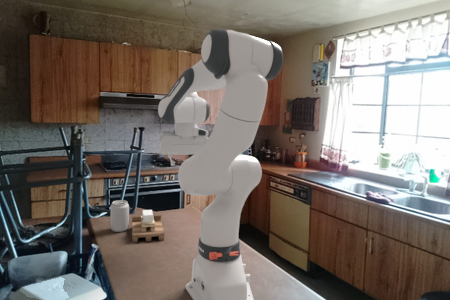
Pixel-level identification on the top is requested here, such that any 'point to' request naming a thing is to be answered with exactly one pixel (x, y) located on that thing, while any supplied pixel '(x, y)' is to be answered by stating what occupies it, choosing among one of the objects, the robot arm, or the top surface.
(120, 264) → the top surface
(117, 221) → the can
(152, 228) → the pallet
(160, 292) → the top surface
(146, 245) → the top surface
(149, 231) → the dock
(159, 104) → the robot arm
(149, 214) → the white rectangular block
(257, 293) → the top surface
